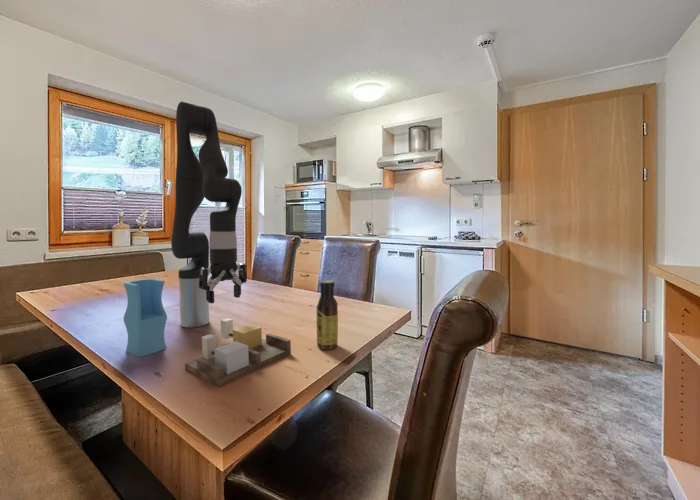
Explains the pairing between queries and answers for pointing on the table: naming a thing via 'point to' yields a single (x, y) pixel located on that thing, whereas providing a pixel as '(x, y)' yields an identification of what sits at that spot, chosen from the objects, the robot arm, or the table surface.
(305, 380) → the table surface
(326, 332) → the sauce bottle
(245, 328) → the ochre block
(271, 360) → the lane rack
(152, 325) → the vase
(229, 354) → the white block with handle
